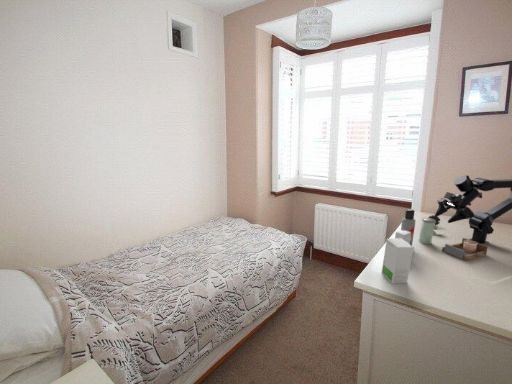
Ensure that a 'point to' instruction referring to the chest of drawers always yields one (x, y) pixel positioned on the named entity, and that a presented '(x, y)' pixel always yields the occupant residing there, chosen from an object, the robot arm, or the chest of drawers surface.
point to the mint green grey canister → (426, 231)
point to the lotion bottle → (409, 223)
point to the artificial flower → (435, 223)
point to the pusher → (454, 251)
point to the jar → (469, 246)
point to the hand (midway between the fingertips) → (441, 219)
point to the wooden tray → (480, 252)
